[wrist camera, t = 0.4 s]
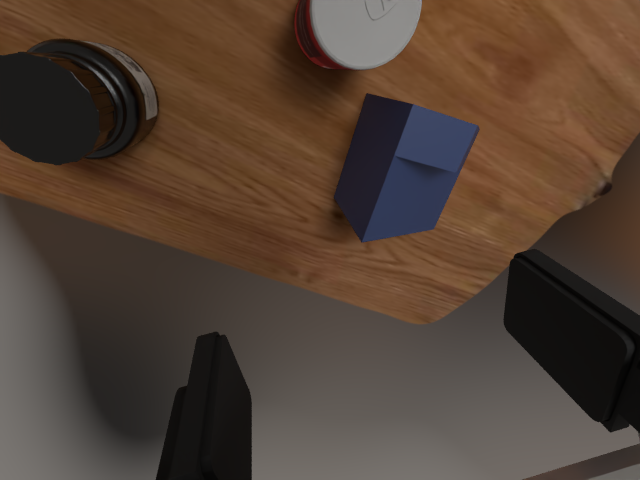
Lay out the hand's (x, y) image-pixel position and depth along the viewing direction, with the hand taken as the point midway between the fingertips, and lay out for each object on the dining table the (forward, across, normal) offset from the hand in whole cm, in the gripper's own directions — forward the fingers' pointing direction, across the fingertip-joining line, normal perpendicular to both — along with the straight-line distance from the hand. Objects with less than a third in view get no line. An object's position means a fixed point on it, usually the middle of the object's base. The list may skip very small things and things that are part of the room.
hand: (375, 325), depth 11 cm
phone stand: (+30, -12, +5) cm, 33 cm away
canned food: (+30, -7, -10) cm, 32 cm away
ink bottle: (+30, +16, -8) cm, 35 cm away
